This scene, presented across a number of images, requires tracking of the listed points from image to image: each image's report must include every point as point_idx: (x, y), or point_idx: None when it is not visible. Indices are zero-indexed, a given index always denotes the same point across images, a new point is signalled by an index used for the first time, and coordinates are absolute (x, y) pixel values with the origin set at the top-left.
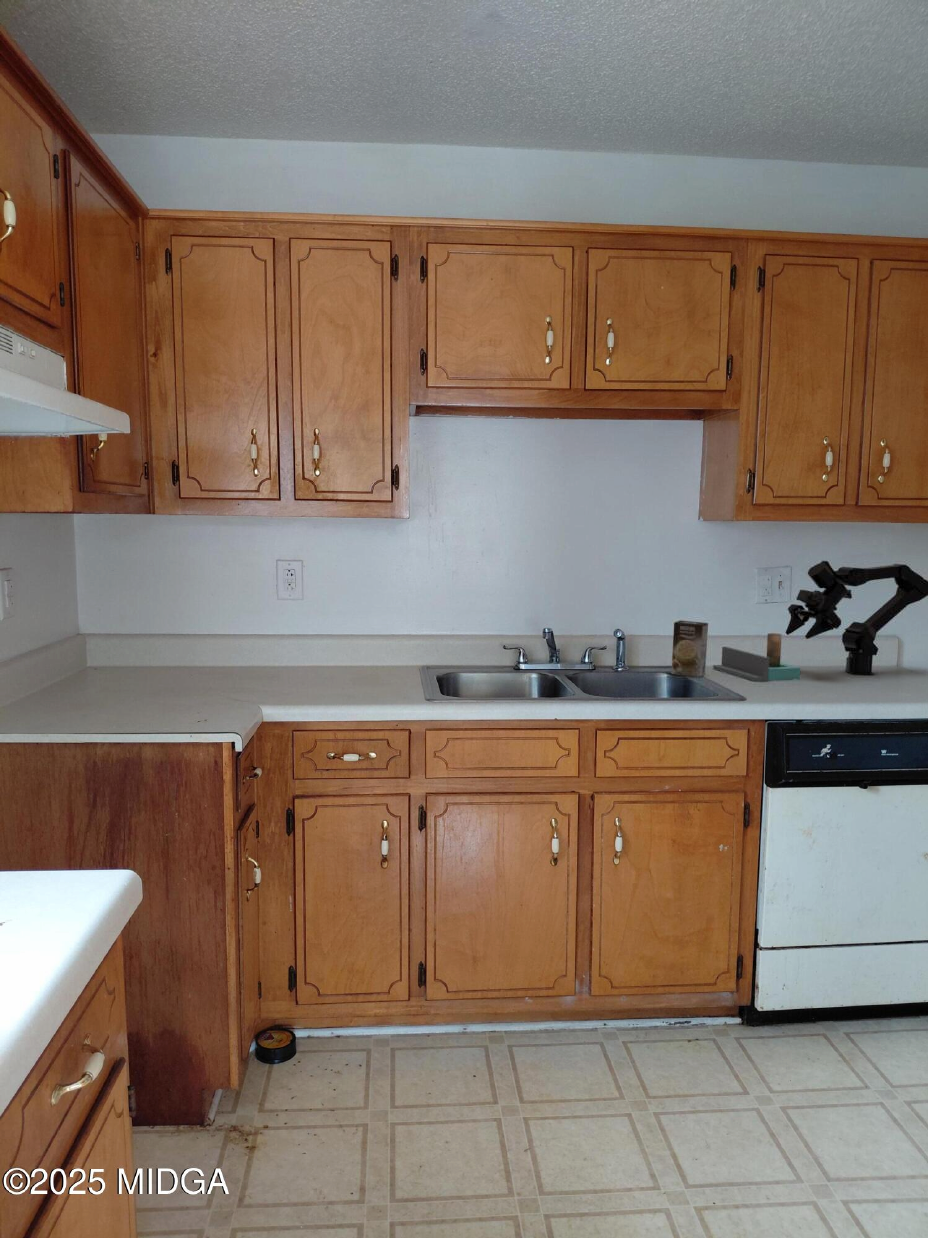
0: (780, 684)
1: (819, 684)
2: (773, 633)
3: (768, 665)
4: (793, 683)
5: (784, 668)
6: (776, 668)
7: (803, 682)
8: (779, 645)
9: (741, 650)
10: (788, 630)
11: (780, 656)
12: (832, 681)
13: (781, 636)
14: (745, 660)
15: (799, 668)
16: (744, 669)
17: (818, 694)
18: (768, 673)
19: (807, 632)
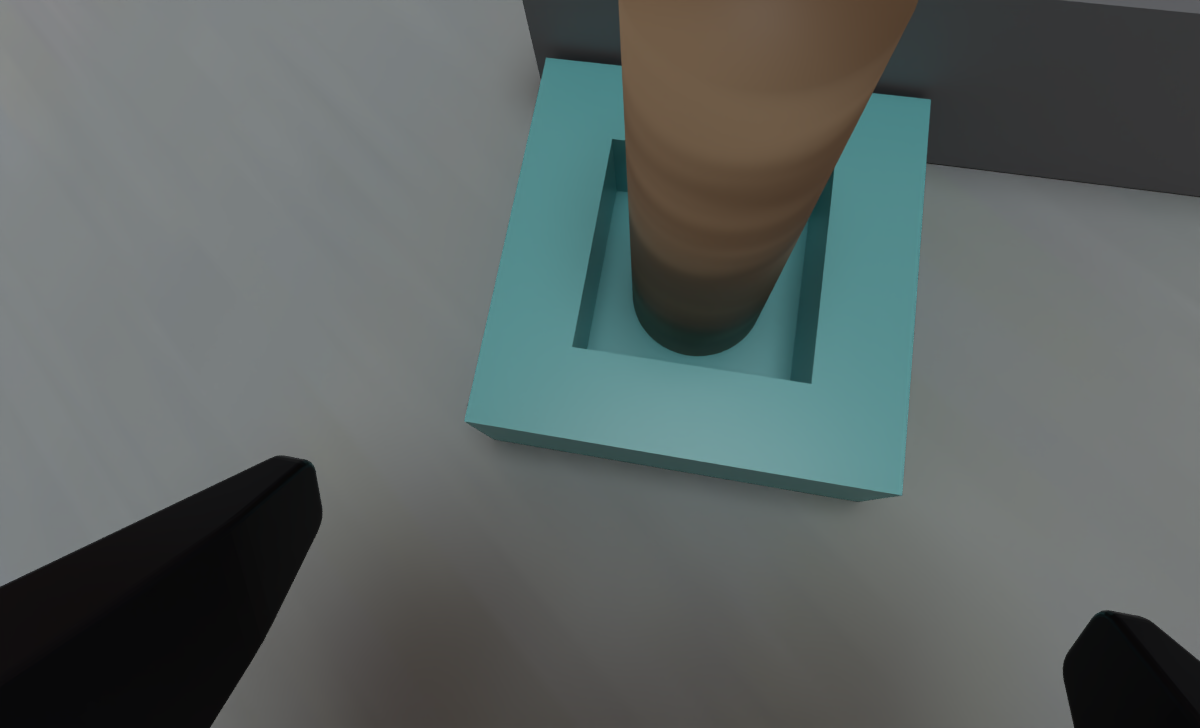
0: (406, 112)
1: (246, 414)
2: (883, 19)
3: (528, 12)
4: (386, 238)
5: (509, 227)
6: (544, 152)
7: (376, 354)
8: (624, 119)
9: (1109, 2)
10: (1149, 702)
11: (642, 248)
12: (275, 670)
13: (653, 76)
14: None
15: (469, 412)
16: None
17: (20, 94)
18: (539, 72)
19: (229, 525)
